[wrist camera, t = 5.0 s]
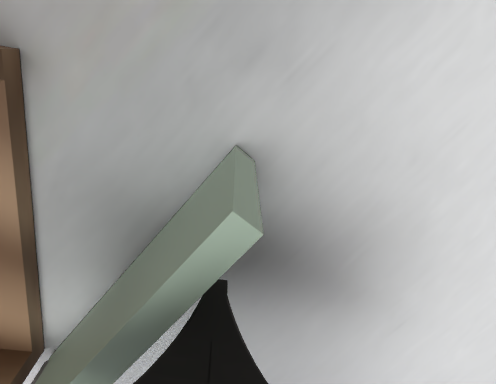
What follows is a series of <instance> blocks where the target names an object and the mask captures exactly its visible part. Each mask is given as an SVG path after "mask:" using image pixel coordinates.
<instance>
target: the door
mask: <svg viewBox="0 0 496 384" xmlns="http://www.w3.org/2000/svg"><path fill="white" fill-rule="evenodd" d="M263 235H264V234H263V226H262V218H261V210H260V201H259V193H258V185H257V177H256V169H255V161H254V160H253V159H251V158H250V157H249V156H248V155H247V154H245V153H244V152H243V151H242V150H241V149H239V148H238V147H237V146H235V147H234V148H233V149H232V151H231V152H230V153H229V154H228V155H227V156H226V157H225V159H224V160H223V161H222V162H221V163H220V164H219V165H218V167H217V168H216V169H215V170H214V171H213V172H212V173H211V175H210V176H209V177H208V178H207V179H206V180H205V181H204V182H203V184H202V185H201V186H200V187H199V188H198V189H197V190H196V192H195V193H194V194H193V195H192V196H191V197H190V198H189V200H188V201H187V202H186V203H185V204H184V205H183V206H182V207H181V209H180V210H179V211H178V212H177V213H176V214H175V215H174V217H173V218H172V219H171V220H170V221H169V222H168V223H167V225H166V226H165V227H164V228H163V229H162V230H161V231H160V232H159V234H158V235H157V236H156V237H155V238H154V239H153V240H152V242H151V243H150V244H149V245H148V246H147V247H146V248H145V250H144V251H143V252H142V253H141V254H140V255H139V256H138V257H137V259H136V260H135V261H134V262H133V263H132V264H131V265H130V267H129V268H128V269H127V270H126V271H125V272H124V273H123V275H122V276H121V277H120V278H119V279H118V280H117V281H116V283H115V284H114V285H113V286H112V287H111V288H110V289H109V290H108V292H107V293H106V294H105V295H104V296H103V297H102V298H101V300H100V301H99V302H98V303H97V304H96V305H95V306H94V308H93V309H92V310H91V311H90V312H89V313H88V314H87V315H86V317H85V318H84V319H83V320H82V321H81V322H80V323H79V325H78V326H77V327H76V328H75V329H74V330H73V331H72V333H71V334H70V335H69V336H68V337H67V338H66V339H65V340H64V342H63V343H62V344H61V345H60V346H59V347H58V348H57V350H56V351H55V352H54V353H53V354H52V355H51V357H50V358H49V360H48V361H46V362H45V363H44V364H43V366H42V367H41V369H40V370H39V372H38V374H37V375H36V377H35V378H34V380H33V382H32V383H31V384H113V383H114V382H115V381H116V380H117V379H118V378H119V377H120V376H121V375H122V374H123V373H124V372H125V371H126V370H127V369H128V368H129V367H130V366H131V365H132V364H133V363H134V362H135V361H136V360H137V359H138V358H139V357H140V356H141V355H142V354H143V353H144V352H145V351H146V350H147V349H148V348H150V347H151V346H152V345H153V344H154V343H155V342H156V341H157V340H158V339H159V338H160V337H161V336H162V335H163V334H164V333H165V332H166V331H167V330H168V329H169V328H170V327H171V326H172V325H173V324H174V323H175V322H176V321H177V320H178V319H179V318H180V317H181V316H182V315H183V314H184V313H185V312H186V311H187V310H188V309H189V308H190V307H191V306H192V305H193V304H194V303H195V302H196V301H197V300H198V299H199V298H200V297H201V296H202V295H203V294H204V293H205V292H206V291H207V290H208V289H209V288H210V287H211V286H212V285H213V284H214V283H215V282H216V281H217V280H218V279H219V278H220V277H221V276H222V275H223V274H224V273H225V272H226V271H227V270H228V269H229V268H230V267H231V266H232V265H233V264H234V263H235V262H236V261H237V260H238V259H239V258H240V257H242V256H243V255H244V254H245V253H246V252H247V251H248V250H249V249H250V248H251V247H252V246H253V245H254V244H255V243H256V242H257V241H258V240H259V239H260V238H261V237H262V236H263Z"/></svg>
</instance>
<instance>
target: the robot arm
mask: <svg viewBox="0 0 496 384" xmlns="http://www.w3.org/2000/svg"><path fill="white" fill-rule="evenodd" d="M227 287H228V286H227V280H220V279H218V280H217V281H216V282H215V283H214V284H213V285H212V286H211V287H210V288H209V289H208V290H207V291H206V292H205V293H204V294H203V296H202V298H201V300H200V302H199V303H198V305H197V307H196V308H195V310H194V312H193V314H192V315H191V317H190V318H189V320H188V321H187V323H186V324H185V326H184V327H183V329H182V330H181V332H180V333H179V334H178V336H177V337H176V338H175V340H174V341H173V342H172V343H171V345H170V346H169V347H168V348H167V349H166V351H165V352H164V353H163V354H162V355H161V356H160V357H159V358H158V360H157V361H156V362H155V363H154V364H153V365H152V366H151V367H150V368H149V369H148V370H147V371H146V372H145V373H144V374H143V375H142V376H141V377H140V378H139V379H138V380H137V381H136V382H135V383H133V384H268V383H267V381H266V380H265V378H264V377H263V375H262V373H261V372H260V370H259V368H258V367H257V365H256V363H255V362H254V360H253V358H252V356H251V354H250V352H249V350H248V349H247V346H246V344H245V342H244V340H243V338H242V336H241V333H240V331H239V329H238V326H237V324H236V321H235V318H234V315H233V313H232V310H231V307H230V303H229V300H228V296H227Z"/></svg>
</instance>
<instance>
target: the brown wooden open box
mask: <svg viewBox="0 0 496 384" xmlns="http://www.w3.org/2000/svg"><path fill="white" fill-rule="evenodd" d="M43 351H44V341H43V329H42V317H41V305H40V293H39V281H38V269H37V258H36V246H35V234H34V222H33V210H32V198H31V186H30V174H29V162H28V150H27V138H26V126H25V114H24V102H23V90H22V78H21V66H20V54H19V49H17V48H11V47H5V46H0V384H22V383H23V382H24V380H25V379H26V377H27V376H28V374H29V373H30V371H31V370H32V368H33V367H34V365H35V364H36V362H37V360H38V359H39V357H40V356H41V354H42V353H43Z"/></svg>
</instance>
